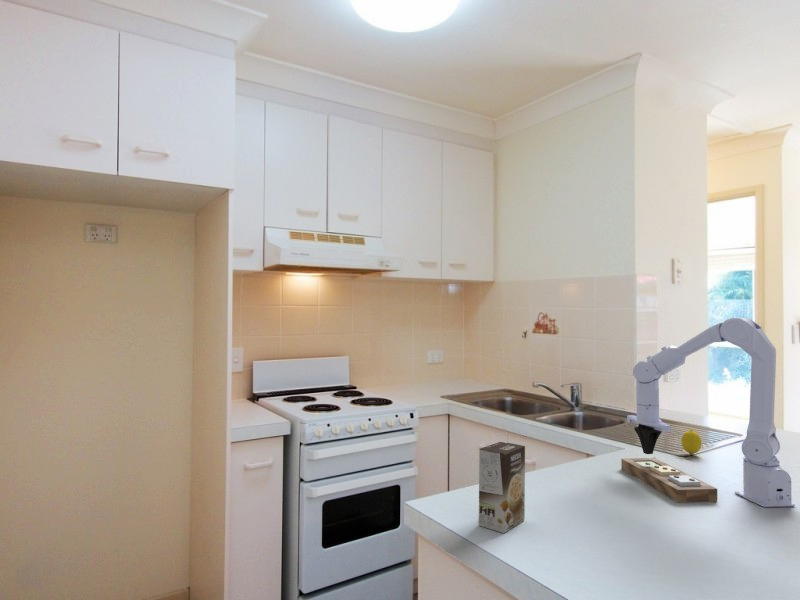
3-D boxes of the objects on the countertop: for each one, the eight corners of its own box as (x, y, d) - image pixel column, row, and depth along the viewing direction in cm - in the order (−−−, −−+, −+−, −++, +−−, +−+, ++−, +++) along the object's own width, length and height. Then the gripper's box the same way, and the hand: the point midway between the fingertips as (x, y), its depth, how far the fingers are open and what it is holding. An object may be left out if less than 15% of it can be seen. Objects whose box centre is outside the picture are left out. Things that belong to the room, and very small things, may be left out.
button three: (680, 482, 133) (679, 470, 133) (661, 482, 133) (661, 471, 133) (668, 476, 138) (668, 465, 138) (650, 476, 138) (650, 465, 138)
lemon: (704, 457, 160) (704, 432, 160) (684, 456, 161) (684, 431, 162) (697, 453, 166) (697, 428, 166) (679, 452, 167) (678, 427, 167)
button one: (661, 477, 141) (661, 465, 141) (644, 477, 141) (644, 466, 141) (651, 471, 146) (651, 460, 146) (634, 471, 146) (634, 461, 146)
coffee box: (505, 534, 104) (505, 454, 104) (477, 525, 108) (478, 448, 108) (525, 520, 111) (525, 445, 111) (499, 512, 115) (499, 440, 115)
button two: (700, 493, 125) (700, 480, 125) (680, 493, 125) (680, 481, 125) (687, 486, 130) (687, 474, 130) (668, 486, 130) (668, 474, 130)
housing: (717, 501, 123) (717, 488, 123) (677, 502, 122) (677, 489, 122) (654, 468, 149) (654, 458, 149) (621, 469, 148) (621, 458, 148)
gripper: (679, 408, 138) (680, 459, 138) (641, 399, 152) (641, 446, 152) (657, 409, 136) (658, 461, 136) (620, 400, 150) (621, 447, 150)
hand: (648, 453), depth 144 cm, fingers closed
